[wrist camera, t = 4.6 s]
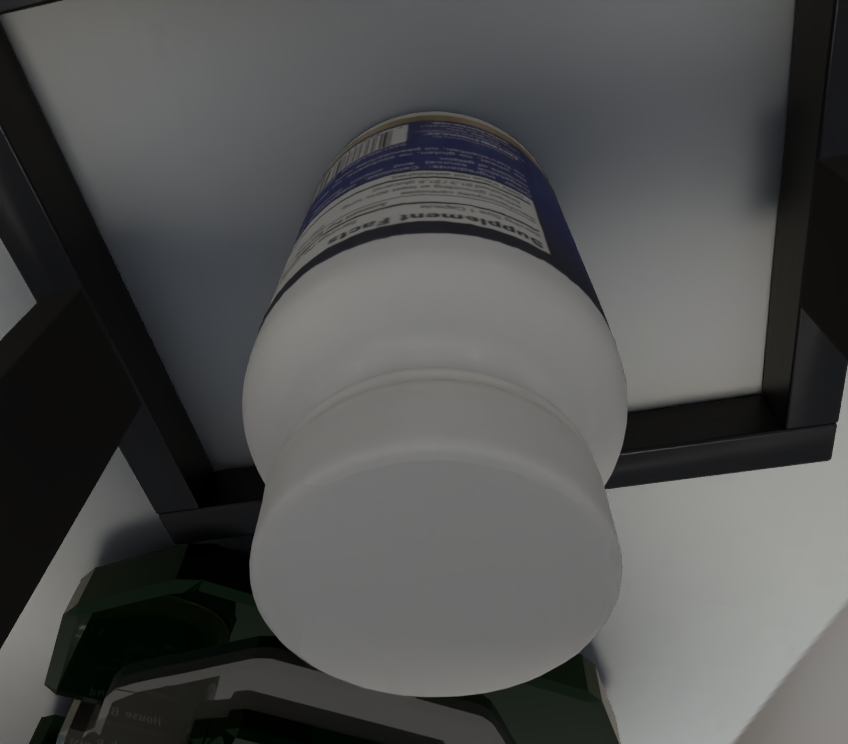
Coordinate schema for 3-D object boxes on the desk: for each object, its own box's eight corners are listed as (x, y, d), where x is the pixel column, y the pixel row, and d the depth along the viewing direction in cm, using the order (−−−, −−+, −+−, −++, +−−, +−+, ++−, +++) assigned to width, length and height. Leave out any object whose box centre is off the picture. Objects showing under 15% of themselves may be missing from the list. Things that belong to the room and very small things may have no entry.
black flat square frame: (189, 506, 20) (171, 551, 19) (-246, -324, 11) (-350, -356, 9) (805, 423, 18) (836, 467, 17) (957, -694, 9) (1057, -809, 7)
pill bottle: (536, 344, 17) (624, 746, 9) (314, 328, 17) (202, 723, 9) (581, 115, 14) (773, 412, 6) (310, 92, 14) (139, 369, 6)
